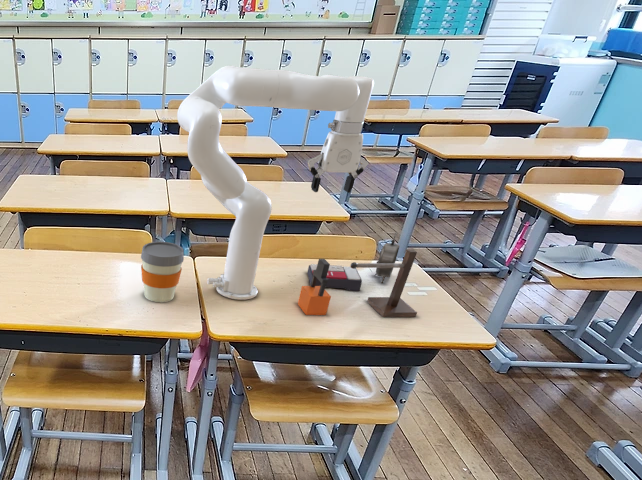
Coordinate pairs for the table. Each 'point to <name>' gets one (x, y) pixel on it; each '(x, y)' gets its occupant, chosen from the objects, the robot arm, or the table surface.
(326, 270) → the orange square box
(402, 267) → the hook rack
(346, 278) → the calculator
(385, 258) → the alarm clock
